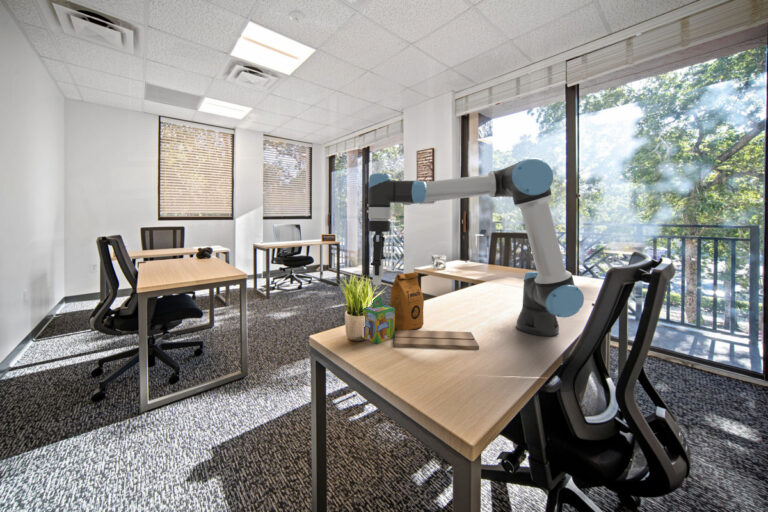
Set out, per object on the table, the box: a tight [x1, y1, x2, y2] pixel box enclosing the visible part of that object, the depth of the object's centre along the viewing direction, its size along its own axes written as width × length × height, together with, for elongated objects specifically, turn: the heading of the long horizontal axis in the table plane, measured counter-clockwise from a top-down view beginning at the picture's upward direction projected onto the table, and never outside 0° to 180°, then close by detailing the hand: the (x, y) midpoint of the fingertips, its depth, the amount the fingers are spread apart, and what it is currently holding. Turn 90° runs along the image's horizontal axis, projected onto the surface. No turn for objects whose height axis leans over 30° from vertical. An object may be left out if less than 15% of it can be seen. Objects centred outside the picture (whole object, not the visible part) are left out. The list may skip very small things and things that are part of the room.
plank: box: [394, 329, 476, 340], centre depth 114 cm, size 28×6×1 cm, turn 87°
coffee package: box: [389, 271, 425, 330], centre depth 123 cm, size 10×12×22 cm
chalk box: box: [362, 296, 396, 345], centre depth 114 cm, size 9×9×15 cm
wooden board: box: [393, 337, 480, 351], centre depth 112 cm, size 28×12×2 cm, turn 87°
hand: (378, 280), depth 112 cm, fingers open, 13 cm apart
